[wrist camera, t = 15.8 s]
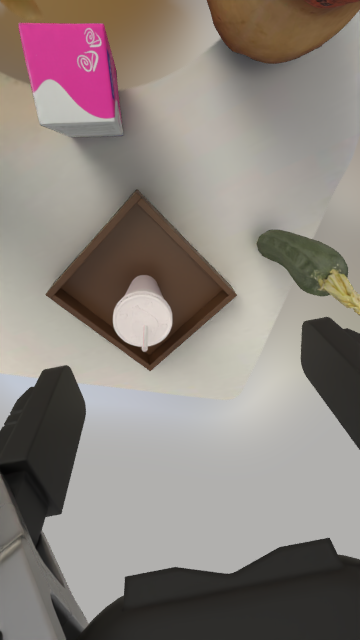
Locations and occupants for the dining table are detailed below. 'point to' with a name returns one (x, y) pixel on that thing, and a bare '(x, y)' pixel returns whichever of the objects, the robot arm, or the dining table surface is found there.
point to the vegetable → (310, 265)
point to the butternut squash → (279, 25)
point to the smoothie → (142, 314)
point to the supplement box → (72, 78)
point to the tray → (134, 260)
